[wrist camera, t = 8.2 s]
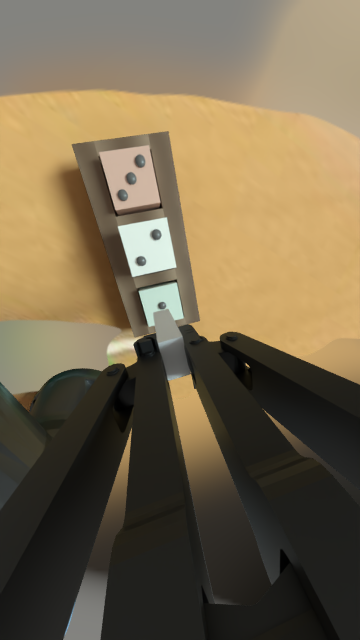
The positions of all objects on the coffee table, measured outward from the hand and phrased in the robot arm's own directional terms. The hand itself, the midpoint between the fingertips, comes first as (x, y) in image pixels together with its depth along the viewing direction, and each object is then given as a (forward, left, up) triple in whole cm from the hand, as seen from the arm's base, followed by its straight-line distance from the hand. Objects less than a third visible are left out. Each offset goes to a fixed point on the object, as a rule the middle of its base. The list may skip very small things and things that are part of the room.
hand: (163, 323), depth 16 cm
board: (0, +7, -12) cm, 14 cm away
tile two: (0, +7, -9) cm, 12 cm away
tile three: (0, +14, -12) cm, 18 cm away
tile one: (0, 0, -12) cm, 12 cm away
